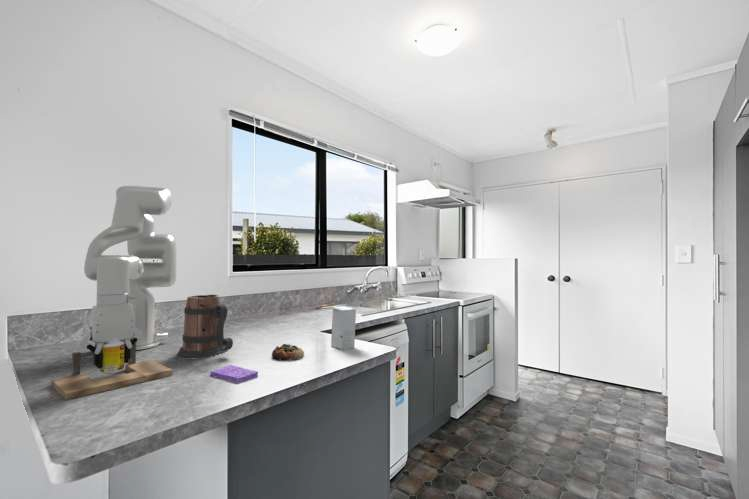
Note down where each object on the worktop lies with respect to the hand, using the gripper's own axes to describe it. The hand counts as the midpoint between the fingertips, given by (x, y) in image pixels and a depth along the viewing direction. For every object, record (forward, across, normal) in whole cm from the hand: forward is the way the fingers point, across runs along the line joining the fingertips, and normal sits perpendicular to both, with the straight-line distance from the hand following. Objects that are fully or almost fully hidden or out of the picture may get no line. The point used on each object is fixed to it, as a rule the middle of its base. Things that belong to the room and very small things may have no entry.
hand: (112, 364), depth 103 cm
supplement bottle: (+2, 0, 0) cm, 2 cm away
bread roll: (+4, -46, +20) cm, 50 cm away
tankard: (+4, -30, -5) cm, 31 cm away
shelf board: (+4, 0, +2) cm, 4 cm away
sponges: (+4, -23, +24) cm, 34 cm away
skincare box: (+4, -67, +25) cm, 72 cm away
